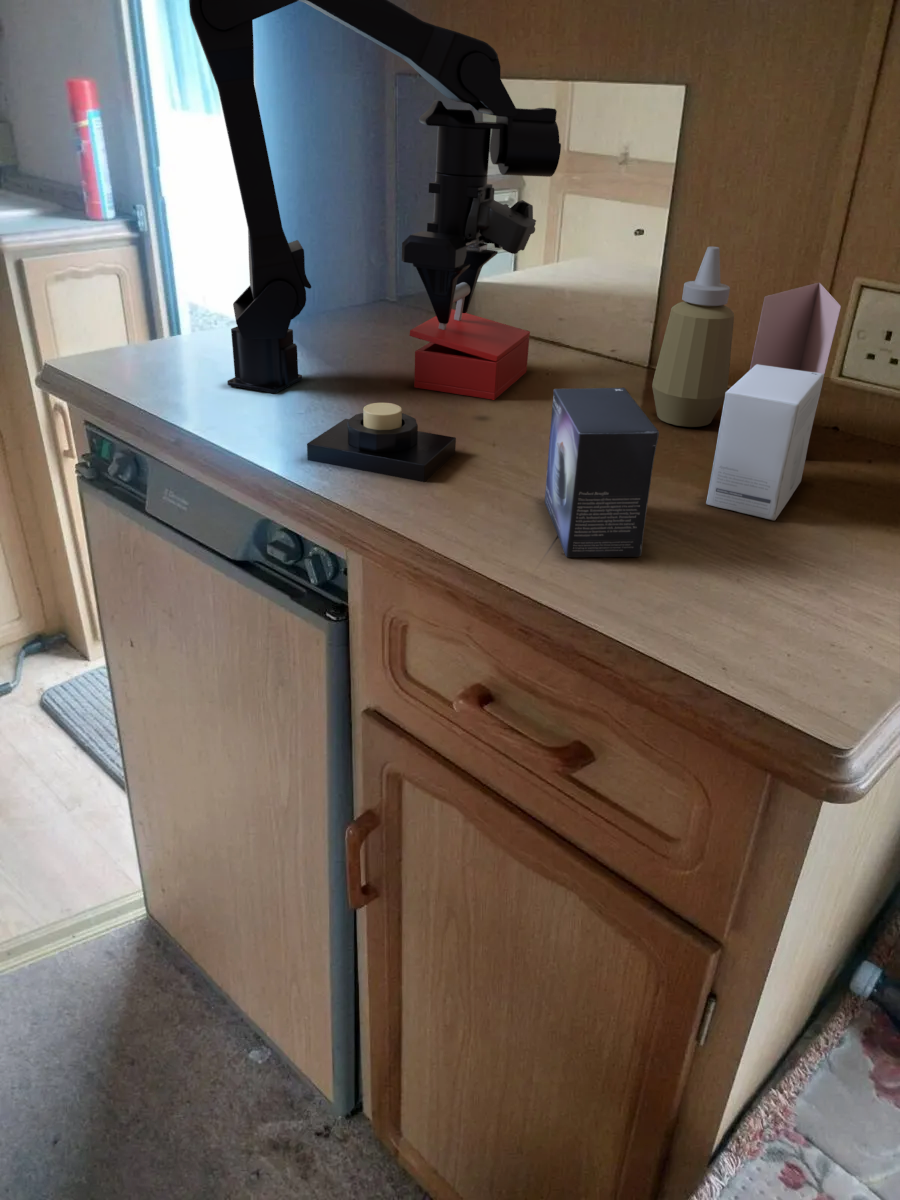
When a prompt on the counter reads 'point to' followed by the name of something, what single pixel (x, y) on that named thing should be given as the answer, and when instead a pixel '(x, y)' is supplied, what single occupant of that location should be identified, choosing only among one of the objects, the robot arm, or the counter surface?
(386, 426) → the button
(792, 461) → the cosmetics box
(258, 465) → the counter surface
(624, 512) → the small box
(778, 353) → the greeting card
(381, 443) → the button housing
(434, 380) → the box
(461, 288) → the door
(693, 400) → the squeeze bottle
